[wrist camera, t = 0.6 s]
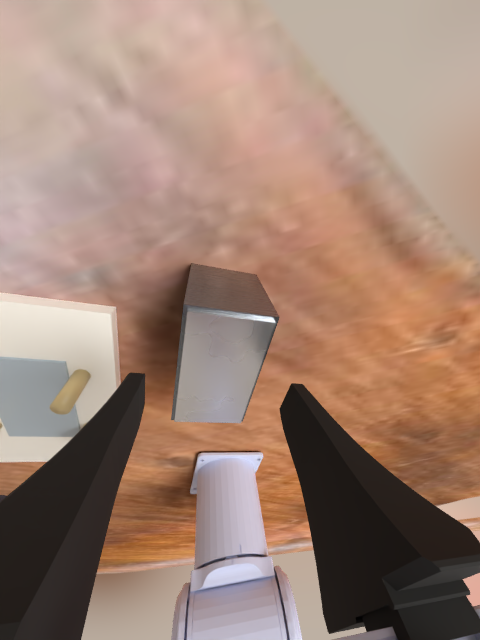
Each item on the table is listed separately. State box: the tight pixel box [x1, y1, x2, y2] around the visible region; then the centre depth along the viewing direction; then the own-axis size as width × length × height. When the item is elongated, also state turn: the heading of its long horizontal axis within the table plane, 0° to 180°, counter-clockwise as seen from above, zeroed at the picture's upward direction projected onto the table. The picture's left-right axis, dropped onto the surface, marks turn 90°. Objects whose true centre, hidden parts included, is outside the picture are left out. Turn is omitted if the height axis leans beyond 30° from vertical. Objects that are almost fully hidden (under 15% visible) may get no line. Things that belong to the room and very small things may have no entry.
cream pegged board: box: [0, 292, 121, 462], centre depth 17 cm, size 18×12×4 cm, turn 167°
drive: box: [171, 263, 279, 423], centre depth 15 cm, size 8×4×6 cm, turn 167°
